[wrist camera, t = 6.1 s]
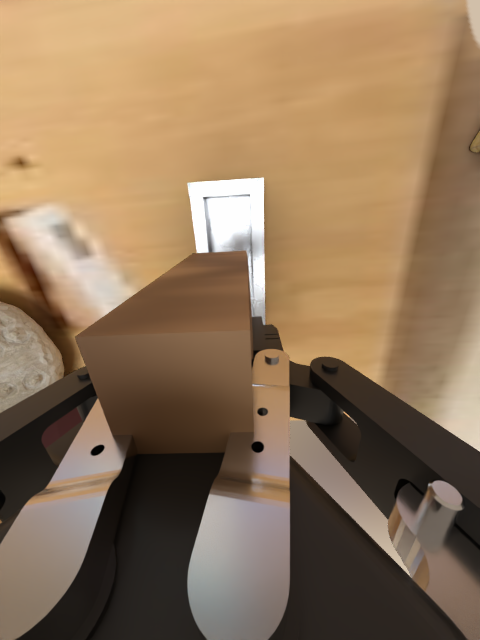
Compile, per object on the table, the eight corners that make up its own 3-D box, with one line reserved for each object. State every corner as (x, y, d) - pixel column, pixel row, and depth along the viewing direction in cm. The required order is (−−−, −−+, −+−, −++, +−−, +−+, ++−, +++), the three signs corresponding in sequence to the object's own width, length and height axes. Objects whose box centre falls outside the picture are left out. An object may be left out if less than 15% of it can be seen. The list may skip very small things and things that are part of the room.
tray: (261, 182, 24) (263, 177, 21) (263, 335, 32) (266, 348, 29) (194, 187, 25) (187, 182, 22) (212, 337, 32) (208, 351, 29)
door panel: (247, 250, 13) (252, 329, 4) (252, 369, 16) (261, 566, 7) (192, 253, 13) (71, 336, 4) (207, 371, 16) (160, 566, 7)
